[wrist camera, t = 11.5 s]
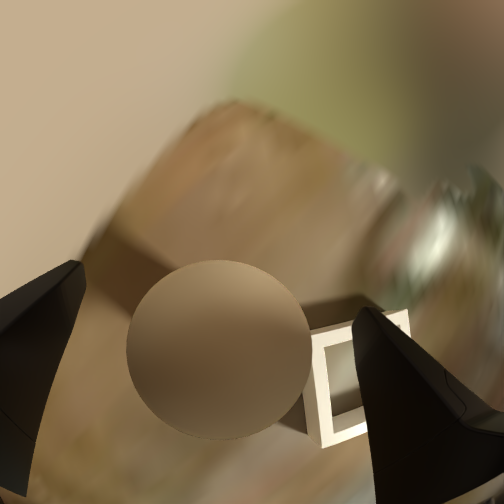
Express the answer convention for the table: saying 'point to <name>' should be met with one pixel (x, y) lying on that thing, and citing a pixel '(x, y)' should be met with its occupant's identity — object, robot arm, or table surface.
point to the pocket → (317, 387)
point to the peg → (219, 350)
